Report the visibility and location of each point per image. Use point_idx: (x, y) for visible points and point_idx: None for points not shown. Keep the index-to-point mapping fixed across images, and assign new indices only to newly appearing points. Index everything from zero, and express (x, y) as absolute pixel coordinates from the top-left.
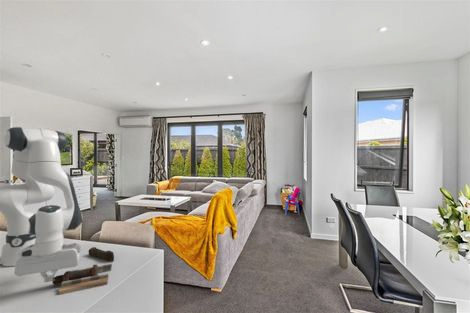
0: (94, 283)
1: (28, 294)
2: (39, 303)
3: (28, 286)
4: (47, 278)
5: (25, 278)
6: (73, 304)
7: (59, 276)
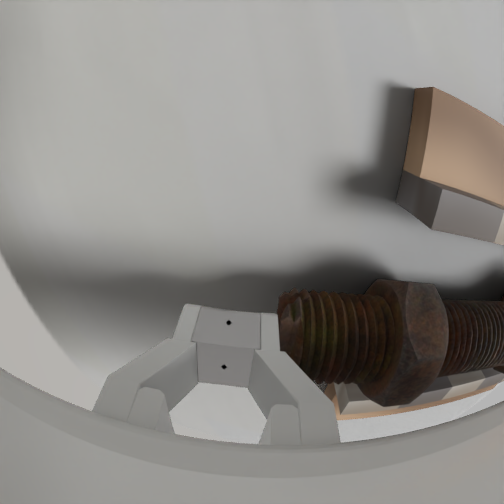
0: (463, 396)
1: (123, 329)
2: (238, 427)
3: (54, 189)
4: (212, 375)
5: (10, 29)
6: None
7: (337, 378)
